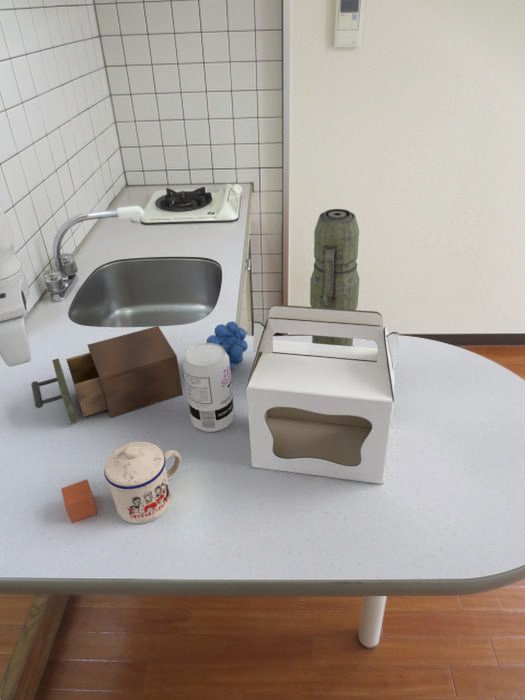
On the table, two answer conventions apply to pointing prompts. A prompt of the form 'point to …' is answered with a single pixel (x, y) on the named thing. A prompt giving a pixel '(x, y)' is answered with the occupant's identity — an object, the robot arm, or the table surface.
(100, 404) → the drawer
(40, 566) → the table surface
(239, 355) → the grapes
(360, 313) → the gable box
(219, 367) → the supplement can
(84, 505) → the block
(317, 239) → the thermos
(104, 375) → the cabinet
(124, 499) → the teacup with lid
